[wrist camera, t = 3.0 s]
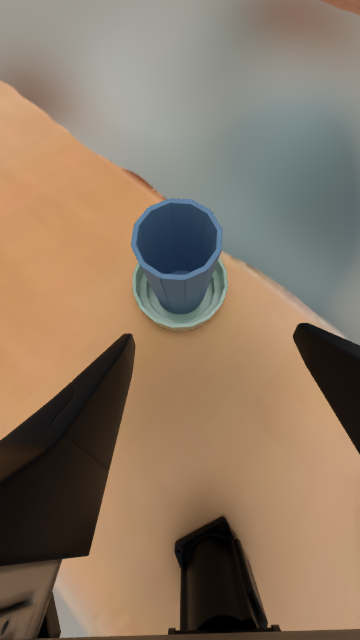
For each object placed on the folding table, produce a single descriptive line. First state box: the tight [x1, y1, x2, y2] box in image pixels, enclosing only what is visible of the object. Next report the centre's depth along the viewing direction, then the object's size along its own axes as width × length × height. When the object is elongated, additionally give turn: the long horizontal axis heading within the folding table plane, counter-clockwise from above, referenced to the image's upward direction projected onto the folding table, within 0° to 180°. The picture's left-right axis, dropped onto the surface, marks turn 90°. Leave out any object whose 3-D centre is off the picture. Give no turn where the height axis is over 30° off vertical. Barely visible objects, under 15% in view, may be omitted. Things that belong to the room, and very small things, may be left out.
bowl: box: [133, 257, 228, 331], centre depth 22 cm, size 11×11×4 cm
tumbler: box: [131, 199, 222, 314], centre depth 18 cm, size 7×7×12 cm
